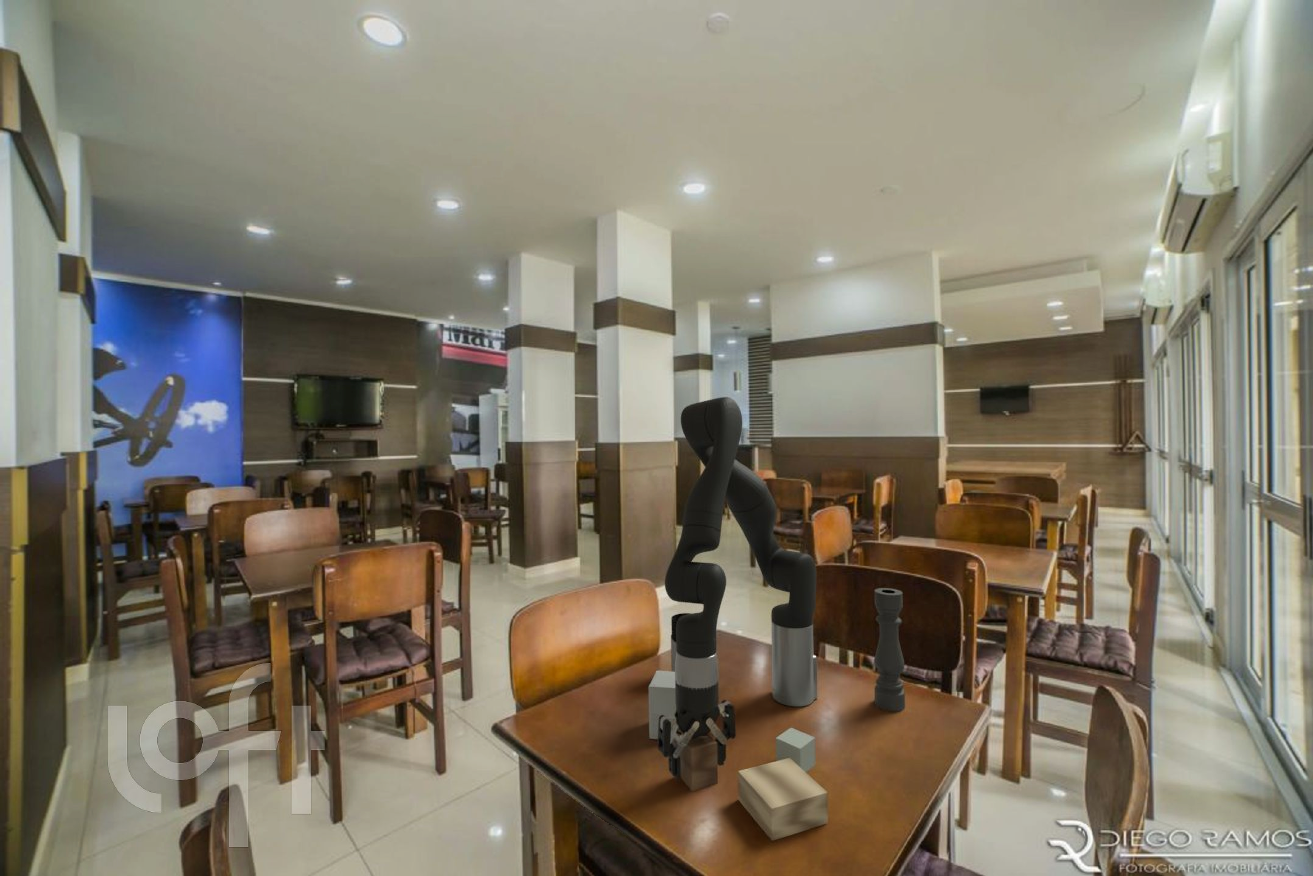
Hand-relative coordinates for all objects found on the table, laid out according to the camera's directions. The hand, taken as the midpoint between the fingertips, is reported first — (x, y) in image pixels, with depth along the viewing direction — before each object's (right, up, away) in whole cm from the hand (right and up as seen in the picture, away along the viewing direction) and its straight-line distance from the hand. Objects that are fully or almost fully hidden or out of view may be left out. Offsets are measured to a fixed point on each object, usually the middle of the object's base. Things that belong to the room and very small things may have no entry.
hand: (697, 769), depth 97 cm
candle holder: (+44, -1, +26) cm, 51 cm away
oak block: (+13, -2, -9) cm, 15 cm away
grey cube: (+18, -2, +4) cm, 19 cm away
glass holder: (0, -2, +38) cm, 38 cm away
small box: (-5, -2, +16) cm, 17 cm away
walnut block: (0, -2, 0) cm, 2 cm away
